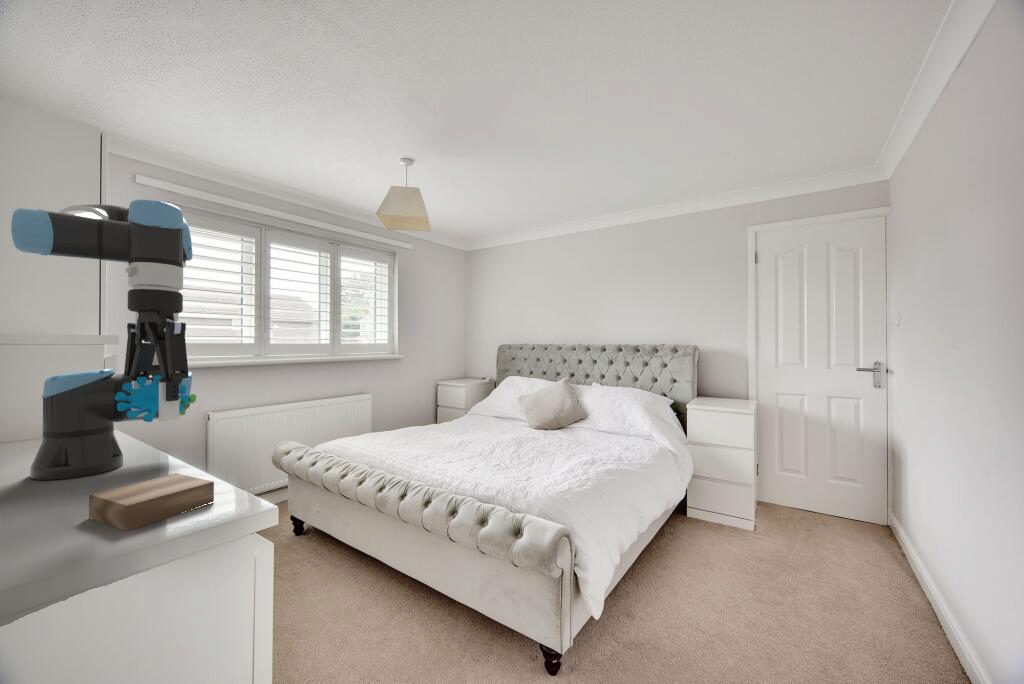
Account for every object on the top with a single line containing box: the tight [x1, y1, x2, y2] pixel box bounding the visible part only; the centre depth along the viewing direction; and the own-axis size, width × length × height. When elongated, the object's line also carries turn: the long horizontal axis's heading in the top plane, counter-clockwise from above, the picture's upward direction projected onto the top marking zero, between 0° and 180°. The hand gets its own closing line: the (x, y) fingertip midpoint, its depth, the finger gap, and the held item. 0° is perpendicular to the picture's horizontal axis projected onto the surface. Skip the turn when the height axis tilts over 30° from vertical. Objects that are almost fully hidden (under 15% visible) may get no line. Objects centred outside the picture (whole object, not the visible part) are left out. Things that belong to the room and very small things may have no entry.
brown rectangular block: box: [88, 473, 215, 532], centre depth 75 cm, size 12×13×4 cm
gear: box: [115, 375, 197, 423], centre depth 76 cm, size 11×6×10 cm
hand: (155, 418), depth 75 cm, fingers closed on gear, 8 cm apart
